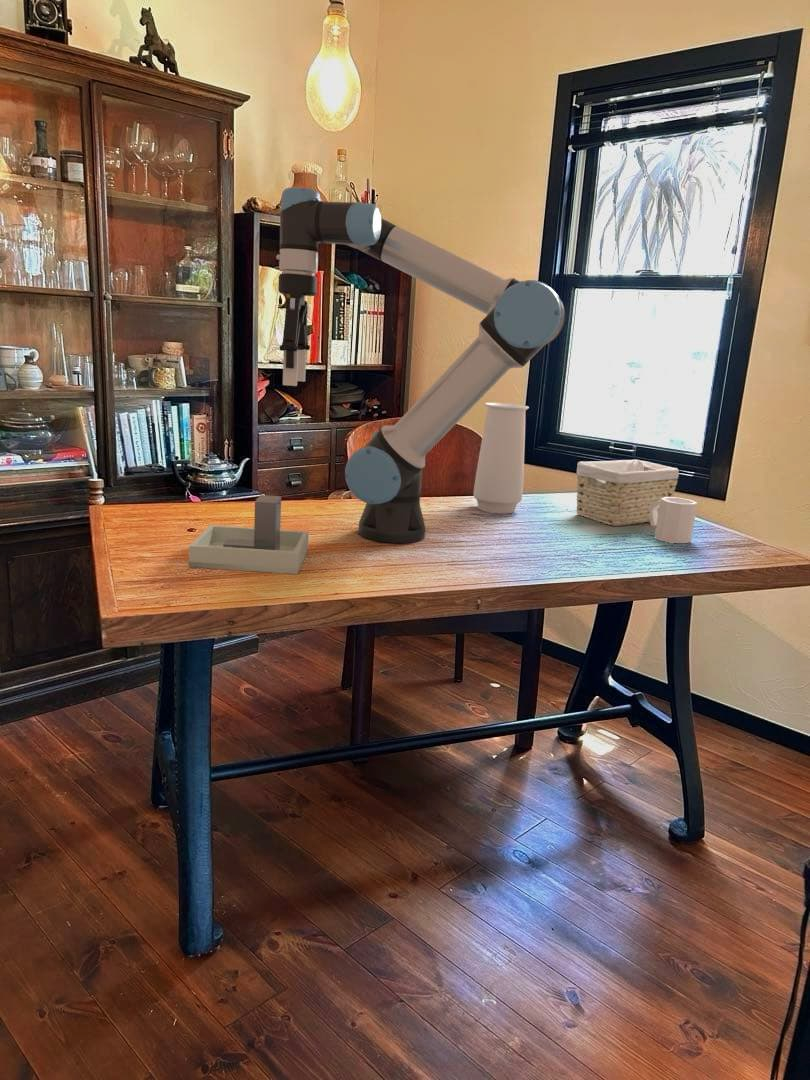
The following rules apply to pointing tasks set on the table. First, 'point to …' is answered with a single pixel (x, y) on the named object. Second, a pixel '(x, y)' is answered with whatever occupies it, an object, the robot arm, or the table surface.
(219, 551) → the tray
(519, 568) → the table surface
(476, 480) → the vase
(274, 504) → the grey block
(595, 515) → the storage basket
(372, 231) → the robot arm
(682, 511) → the mug
